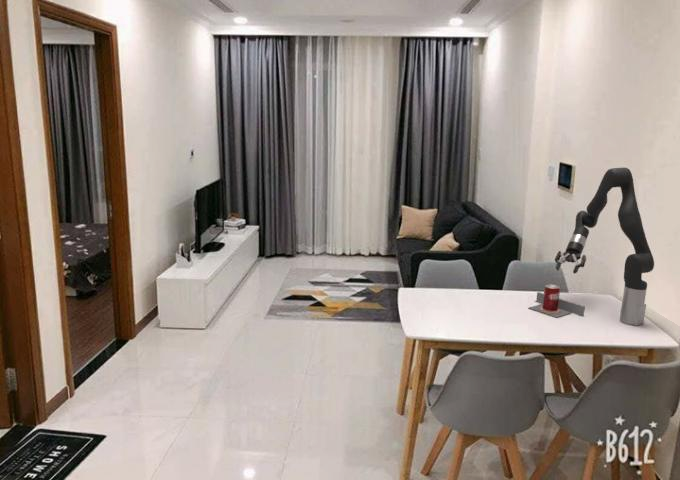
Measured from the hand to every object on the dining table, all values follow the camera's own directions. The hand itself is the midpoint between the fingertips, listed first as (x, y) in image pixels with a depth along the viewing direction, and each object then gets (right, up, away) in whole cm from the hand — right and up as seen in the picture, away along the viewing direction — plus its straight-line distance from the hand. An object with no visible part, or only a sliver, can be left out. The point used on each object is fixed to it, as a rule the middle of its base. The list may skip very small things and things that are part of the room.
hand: (565, 271), depth 279 cm
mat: (-10, -20, -4) cm, 22 cm away
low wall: (-3, -19, +1) cm, 19 cm away
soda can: (-9, -19, -4) cm, 22 cm away
